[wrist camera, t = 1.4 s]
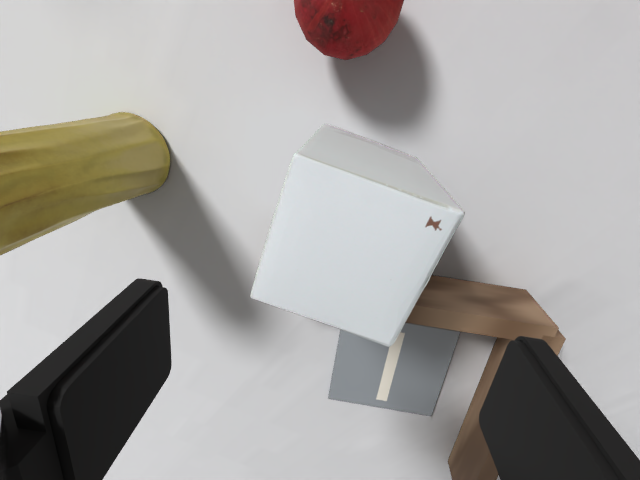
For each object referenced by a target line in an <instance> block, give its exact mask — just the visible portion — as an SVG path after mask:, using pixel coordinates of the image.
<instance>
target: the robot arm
mask: <svg viewBox="0 0 640 480" xmlns="http://www.w3.org/2000/svg"><path fill="white" fill-rule="evenodd" d="M170 370H171V345H170V325H169V305H168V291H167V289H166V288H163V287H162V284H161V282H159V281H153V280H146V279H136V280H135V281H134V282H132V283H131V284H130V285H129V286H128V287H127V288H125V289H124V290H123V291H122V292H121V293H120V294H119V295H117V296H116V297H115V298H114V299H113V300H112V301H111V302H109V303H108V304H107V305H106V306H105V307H104V308H103V309H101V310H100V311H99V312H98V313H97V314H96V315H94V316H93V317H92V318H91V319H90V320H89V321H88V322H86V323H85V324H84V325H83V326H82V327H81V328H80V329H78V330H77V331H76V332H75V333H74V334H73V335H72V336H70V337H69V338H68V339H67V340H66V341H65V342H63V343H62V344H61V345H60V346H59V347H58V348H57V349H55V350H54V351H53V352H52V353H51V354H50V355H49V356H47V357H46V358H45V359H44V360H43V361H42V362H41V363H39V364H38V365H37V366H36V367H35V368H34V369H32V370H31V371H30V372H29V373H28V374H27V375H26V376H24V377H23V378H22V379H21V380H20V381H19V382H18V383H16V384H15V385H14V386H13V387H12V388H11V389H10V390H8V391H7V395H6V396H5V397H4V398H2V399H1V400H0V480H102V479H103V478H104V476H105V475H106V473H107V472H108V470H109V468H110V467H111V465H112V464H113V462H114V461H115V459H116V457H117V456H118V454H119V453H120V451H121V450H122V448H123V447H124V445H125V443H126V442H127V440H128V439H129V437H130V436H131V434H132V432H133V431H134V429H135V428H136V426H137V425H138V423H139V422H140V420H141V418H142V417H143V415H144V414H145V412H146V411H147V409H148V407H149V406H150V404H151V403H152V401H153V400H154V398H155V397H156V395H157V393H158V392H159V390H160V389H161V387H162V386H163V384H164V382H165V381H166V379H167V378H168V376H169V373H170ZM479 424H480V428H481V430H482V433H483V436H484V438H485V441H486V443H487V446H488V448H489V451H490V454H491V456H492V459H493V461H494V464H495V466H496V469H497V471H498V474H499V477H500V479H501V480H640V460H639V459H638V458H637V456H636V455H635V454H634V452H633V451H632V450H631V449H630V447H629V446H628V445H627V444H626V442H625V441H624V440H623V439H622V437H621V436H620V435H619V433H618V432H617V431H616V430H615V428H614V427H613V426H612V425H611V423H610V422H609V421H608V420H607V418H606V417H605V416H604V414H603V413H602V412H601V411H600V409H599V408H598V407H597V406H596V404H595V403H594V402H593V401H592V399H591V398H590V397H589V395H588V394H587V393H586V392H585V390H584V389H583V388H582V387H581V385H580V384H579V383H578V382H577V380H576V379H575V378H574V377H573V375H572V374H571V373H570V371H569V370H568V369H567V368H566V366H565V365H564V364H563V363H562V361H561V360H560V359H559V358H558V356H557V355H556V354H555V352H554V351H553V350H552V349H551V347H550V346H549V345H548V344H547V342H546V341H544V340H542V339H538V338H531V337H525V336H518V337H517V338H516V339H515V340H512V341H510V342H509V343H508V345H507V347H506V350H505V352H504V355H503V357H502V360H501V362H500V364H499V367H498V369H497V372H496V374H495V376H494V379H493V381H492V384H491V386H490V389H489V391H488V393H487V396H486V398H485V401H484V403H483V405H482V408H481V410H480V413H479Z"/></svg>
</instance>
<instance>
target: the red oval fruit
mask: <svg viewBox="0 0 640 480" xmlns="http://www.w3.org/2000/svg"><path fill="white" fill-rule="evenodd" d="M403 1H404V0H294V6H295V15H296V18H297V20H298V23H299V25H300V27H301V29H302V31H303V33H304V35H305V38H306V40H307V41H309V42H310V43H311V44H312V45H313V46H314V47H316V48H317V49H318V50H319V51H320V52H322V53H323V54H324V55H327V56H331V57H335V58H339V59H343V60H348V59H352V58H356V57H360V56H364V55H367V54H368V53H370V52H371V51H372V50H374V49H375V48H376V47H378V46H379V45H380V44H382V43H383V42H384V41H385V40H386V38H387V37H388V35H389V34H390V32H391V31H392V29H393V28H394V26H395V25H396V23H397V21H398V18H399V15H400V11H401V8H402V5H403Z"/></svg>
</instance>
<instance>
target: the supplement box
mask: <svg viewBox="0 0 640 480" xmlns="http://www.w3.org/2000/svg"><path fill="white" fill-rule="evenodd" d="M464 214H465V212H464V211H463V209H462V208H461V207H460V206H459V205H458V204H457V203H456V201H455V200H454V199H453V198H452V197H451V196H450V195H449V193H448V192H447V191H446V190H445V189H444V188H443V187H442V185H441V184H440V183H439V182H438V181H437V180H436V179H435V177H434V176H433V175H432V174H431V173H430V172H429V171H428V169H427V168H426V167H425V166H424V165H423V164H422V163H421V161H420V160H419V159H418V158H416V157H414V156H411V155H409V154H406V153H403V152H401V151H398V150H395V149H393V148H390V147H388V146H385V145H383V144H380V143H378V142H375V141H372V140H370V139H367V138H364V137H362V136H359V135H356V134H354V133H351V132H348V131H346V130H343V129H340V128H338V127H335V126H332V125H329V124H323V125H322V126H321V127H320V128H319V129H318V130H317V131H316V132H315V134H314V135H313V136H312V137H311V138H310V139H309V140H308V141H307V142H306V143H305V144H304V145H303V146H302V147H301V148H300V149H299V150H298V151H297V152H296V153H295V154H294V155H293V158H292V161H291V163H290V166H289V169H288V172H287V175H286V178H285V181H284V184H283V187H282V191H281V194H280V197H279V200H278V203H277V206H276V210H275V213H274V216H273V219H272V222H271V226H270V229H269V232H268V236H267V239H266V242H265V246H264V249H263V252H262V256H261V259H260V262H259V266H258V269H257V272H256V276H255V280H254V283H253V287H252V291H251V294H250V297H251V298H252V299H255V300H258V301H261V302H263V303H266V304H269V305H272V306H275V307H278V308H281V309H283V310H286V311H289V312H292V313H295V314H298V315H301V316H304V317H307V318H309V319H312V320H315V321H318V322H321V323H324V324H327V325H330V326H333V327H336V328H338V329H341V330H344V331H346V332H349V333H352V334H354V335H357V336H360V337H362V338H365V339H368V340H371V341H373V342H376V343H379V344H381V345H384V346H387V347H390V346H392V345H393V344H394V342H395V341H396V339H397V337H398V335H399V333H400V332H401V330H402V328H403V326H404V324H405V322H406V320H407V318H408V317H409V315H410V313H411V311H412V309H413V307H414V306H415V304H416V302H417V300H418V298H419V296H420V295H421V293H422V291H423V290H424V288H425V286H426V285H427V283H428V281H429V279H430V277H431V275H432V273H433V271H434V269H435V267H436V265H437V264H438V262H439V260H440V258H441V256H442V254H443V252H444V251H445V249H446V247H447V245H448V243H449V241H450V240H451V238H452V236H453V234H454V232H455V231H456V229H457V227H458V225H459V224H460V222H461V220H462V219H463V217H464Z"/></svg>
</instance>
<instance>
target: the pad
mask: <svg viewBox="0 0 640 480" xmlns="http://www.w3.org/2000/svg"><path fill="white" fill-rule="evenodd" d="M459 335H460V331H455V330H449V329H443V328H436V327H430V326H424V325H418V324H412V323H405V324H404V326H403V328H402V330H401V332H400V333H399V335H398V337H397V339H396V341H395V342H394V344H393V345H392V346H390V347H387V346H384V345H381V344H379V343H376V342H373V341H371V340H368V339H365V338H362V337H360V336H357V335H354V334H352V333H349V332H346V331H344V330H340V335H339V341H338V346H337V352H336V358H335V363H334V369H333V374H332V380H331V385H330V391H329V396H328V399H332V400H338V401H344V402H350V403H356V404H362V405H367V406H373V407H379V408H385V409H391V410H397V411H403V412H408V413H414V414H420V415H426V416H432V413H433V410H434V407H435V404H436V401H437V398H438V395H439V392H440V390H441V387H442V384H443V381H444V378H445V375H446V372H447V369H448V366H449V364H450V361H451V358H452V355H453V352H454V349H455V346H456V343H457V340H458V338H459Z"/></svg>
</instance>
